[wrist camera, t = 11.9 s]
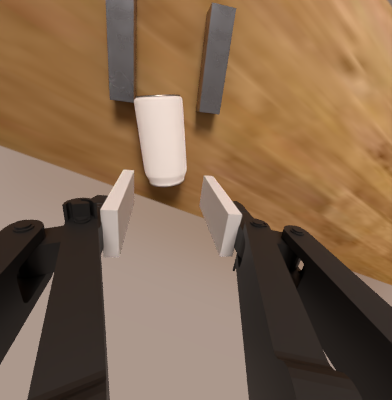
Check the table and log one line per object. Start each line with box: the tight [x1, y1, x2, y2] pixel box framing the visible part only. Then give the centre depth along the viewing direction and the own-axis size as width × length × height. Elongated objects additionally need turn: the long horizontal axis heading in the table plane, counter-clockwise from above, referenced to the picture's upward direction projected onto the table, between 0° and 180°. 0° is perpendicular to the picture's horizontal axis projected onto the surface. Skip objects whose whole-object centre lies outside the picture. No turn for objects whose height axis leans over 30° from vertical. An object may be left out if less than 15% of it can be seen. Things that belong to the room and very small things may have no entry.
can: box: [134, 95, 187, 187], centre depth 30 cm, size 6×6×12 cm
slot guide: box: [106, 0, 236, 114], centre depth 27 cm, size 15×12×3 cm
